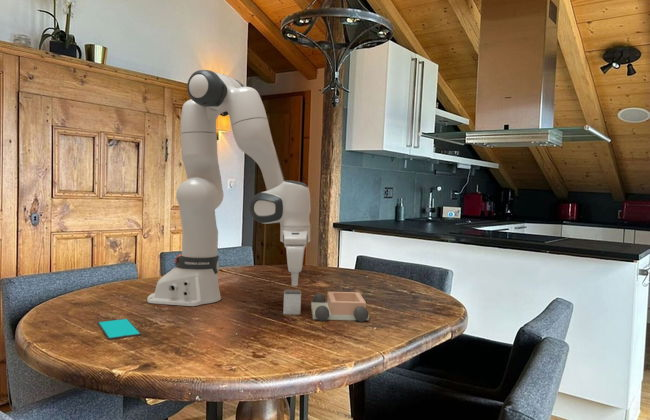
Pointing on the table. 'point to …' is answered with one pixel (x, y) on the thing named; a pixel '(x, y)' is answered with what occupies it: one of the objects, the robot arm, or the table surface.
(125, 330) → the smartphone
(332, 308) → the chassis
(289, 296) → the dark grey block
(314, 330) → the table surface
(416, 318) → the table surface
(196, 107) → the robot arm
